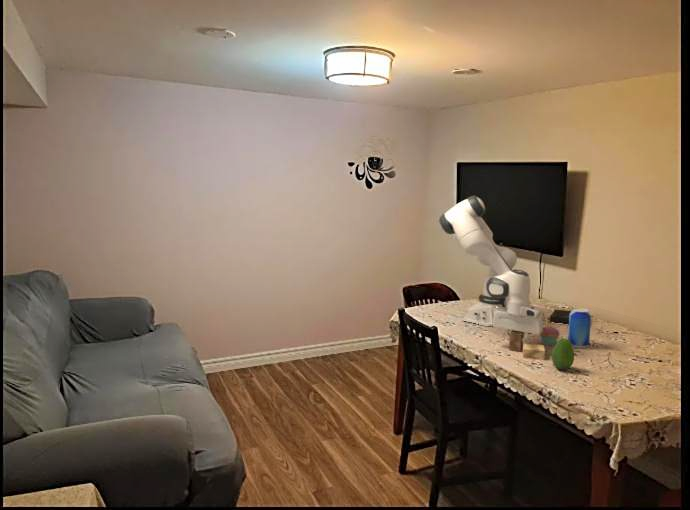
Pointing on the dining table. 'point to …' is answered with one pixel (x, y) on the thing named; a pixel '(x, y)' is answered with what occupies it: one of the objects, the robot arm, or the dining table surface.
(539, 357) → the oak block
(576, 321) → the beer can
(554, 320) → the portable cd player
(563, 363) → the avocado
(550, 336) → the cupcake
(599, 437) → the dining table surface
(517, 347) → the walnut block
